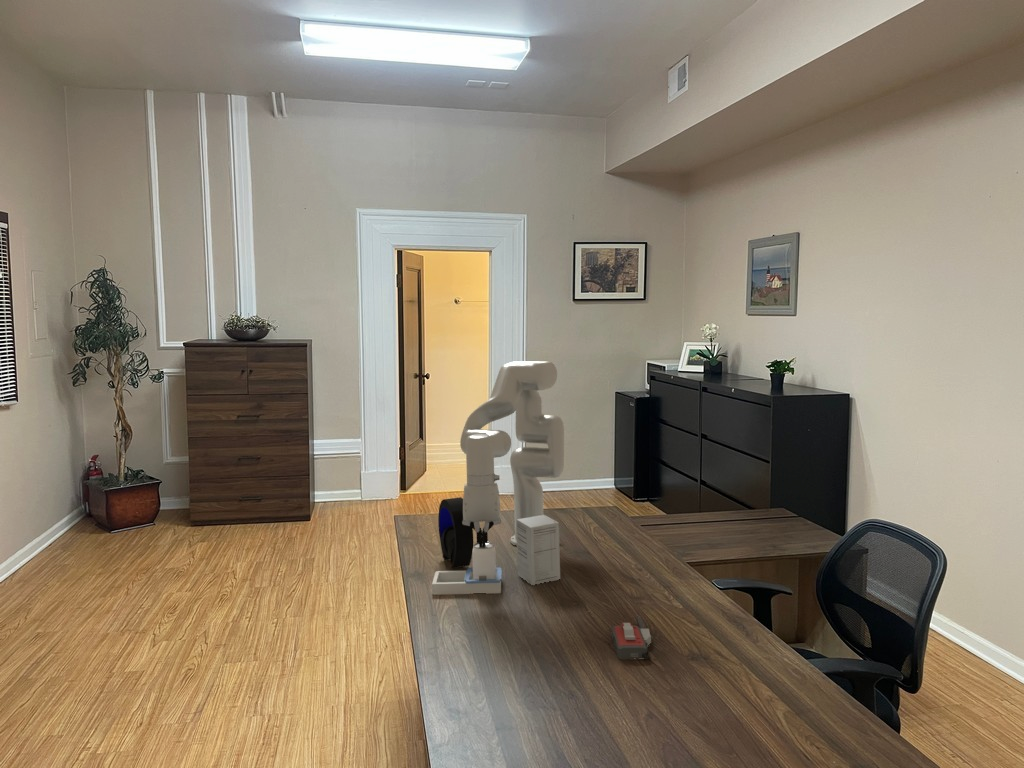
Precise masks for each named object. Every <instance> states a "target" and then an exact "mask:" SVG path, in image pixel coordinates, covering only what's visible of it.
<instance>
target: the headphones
mask: <svg viewBox="0 0 1024 768" xmlns="http://www.w3.org/2000/svg"><path fill="white" fill-rule="evenodd" d="M437 518H438V519H437V520H438V522H437V523H438V535H439V541H440V548H441V554H442V558H443V559H444V561H448V560H449V561H450V562H451V569H455V568H462V567H469V566H471V562H472V559H473V558H472V550H473V548H474V529H473V528H472V527H471V526H467V525H463V524H462V521H463V497H454V498H453V497H452V498H446V499H445V498H444V499H442V500H441V501H440V503H439V506H438V516H437Z"/></svg>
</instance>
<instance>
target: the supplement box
mask: <svg viewBox="0 0 1024 768" xmlns="http://www.w3.org/2000/svg"><path fill="white" fill-rule="evenodd" d="M516 524H517V546H516V551H517V554H516V555H517V570H518V571H517V576H518V577H520V578H521V579H522V578H523V579H522V580H524V581H525V580H526V581H527V583H528V584H529V583H530V584H531V585H530V584H529V585H530V586H532V585H533V586H536V585H535V584H537V585H540V583H542V584H545V583H544V582H546V583H550V582H549V581H551V582H555V581H559V579H560V580H561V559H560V558H561V556H560V555H561V554H560V553H561V551H560V525H559V524H560V523H559V522H558V521H557V520H555V519H553V518H551V517H549V516H547V515H546V514H543V515H540V516H534V517H528V518H523V519H517V520H516ZM526 581H525V582H526Z"/></svg>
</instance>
